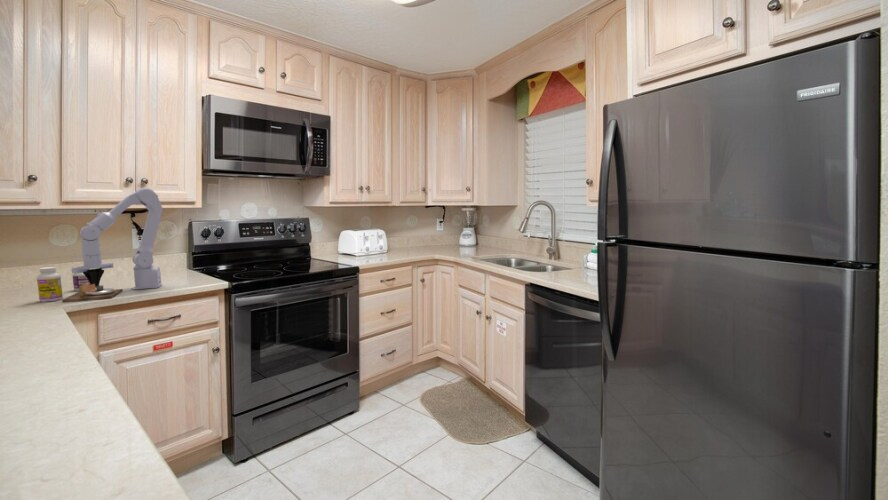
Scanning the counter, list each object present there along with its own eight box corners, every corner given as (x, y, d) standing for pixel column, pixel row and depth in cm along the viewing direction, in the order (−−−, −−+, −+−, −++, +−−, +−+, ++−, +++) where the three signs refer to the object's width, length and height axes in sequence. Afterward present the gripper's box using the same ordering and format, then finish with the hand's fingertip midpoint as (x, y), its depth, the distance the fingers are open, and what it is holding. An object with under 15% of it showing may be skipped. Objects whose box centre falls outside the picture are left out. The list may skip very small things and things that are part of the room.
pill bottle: (80, 291, 176) (78, 269, 174) (70, 291, 177) (68, 269, 176) (93, 288, 181) (91, 267, 180) (84, 288, 182) (81, 267, 181)
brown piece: (122, 291, 176) (121, 278, 175) (111, 298, 162) (110, 284, 162) (78, 294, 170) (76, 281, 169) (62, 302, 156) (61, 288, 155)
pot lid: (120, 291, 170) (119, 283, 169) (96, 296, 161) (95, 287, 161) (97, 289, 173) (97, 281, 173) (73, 294, 164) (72, 286, 164)
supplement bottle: (35, 303, 156) (31, 269, 154) (44, 299, 162) (40, 267, 160) (58, 301, 158) (54, 268, 157) (66, 297, 164) (62, 266, 163)
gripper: (103, 252, 177) (106, 283, 179) (64, 257, 164) (68, 290, 165) (115, 253, 175) (118, 284, 177) (77, 257, 162) (81, 291, 163)
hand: (95, 287), depth 171 cm, fingers closed
